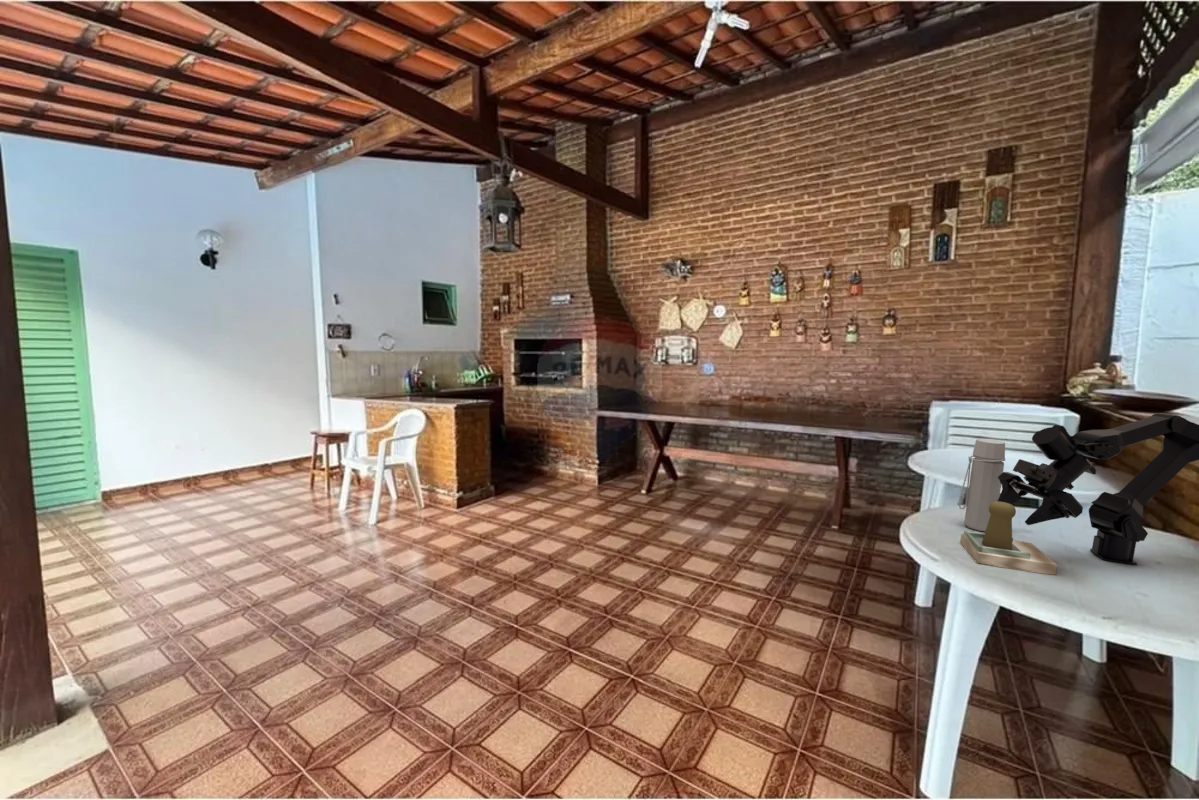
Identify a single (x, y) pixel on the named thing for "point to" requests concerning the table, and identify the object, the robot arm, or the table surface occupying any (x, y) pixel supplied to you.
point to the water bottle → (983, 482)
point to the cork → (999, 526)
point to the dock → (1008, 555)
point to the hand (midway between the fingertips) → (1010, 516)
